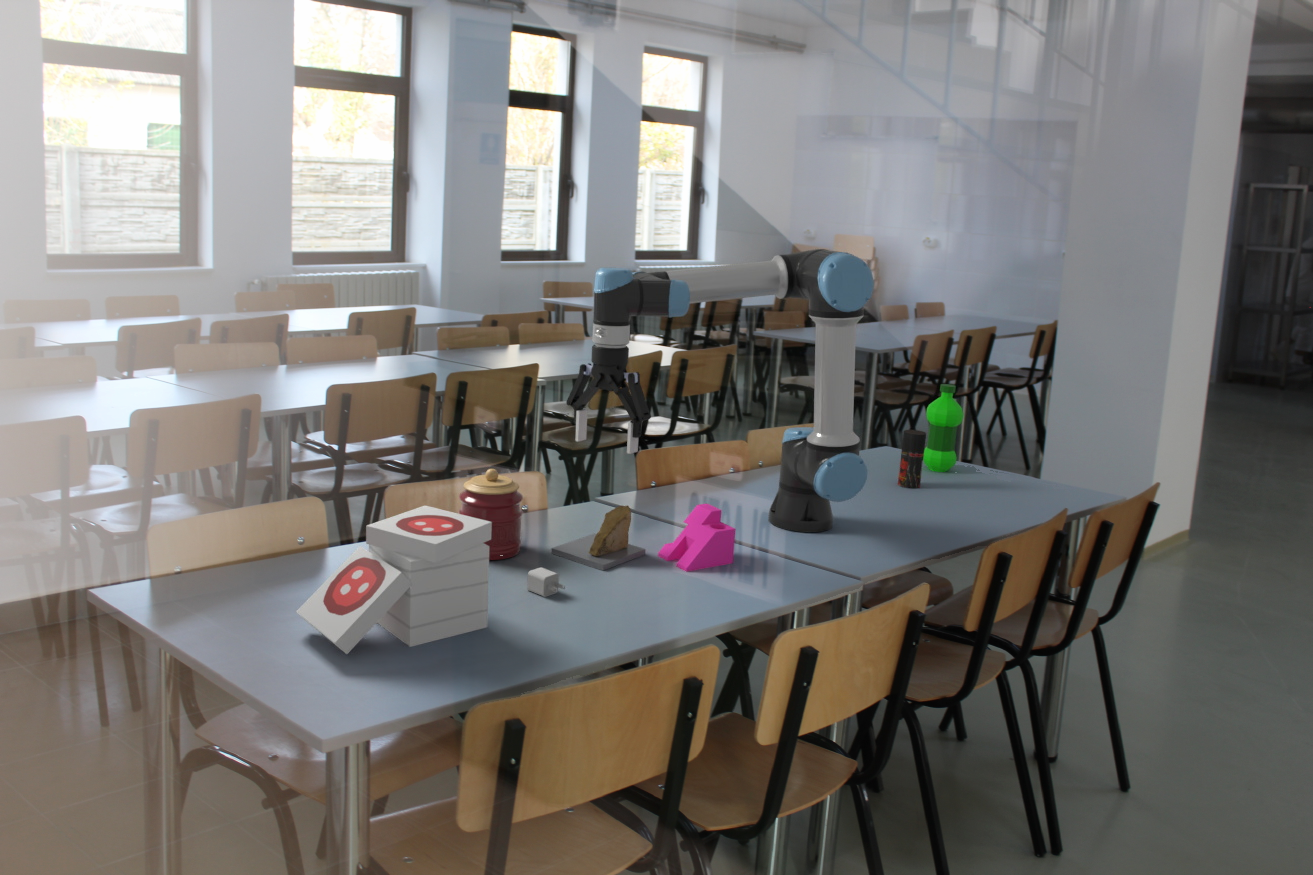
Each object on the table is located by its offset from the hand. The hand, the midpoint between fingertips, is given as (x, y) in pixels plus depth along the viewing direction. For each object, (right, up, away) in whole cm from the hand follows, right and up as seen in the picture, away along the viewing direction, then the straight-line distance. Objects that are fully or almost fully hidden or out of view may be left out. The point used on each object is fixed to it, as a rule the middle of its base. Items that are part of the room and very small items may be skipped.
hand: (606, 446), depth 226 cm
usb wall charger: (-10, -28, -20) cm, 36 cm away
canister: (-24, -22, +1) cm, 33 cm away
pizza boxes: (-33, -31, -40) cm, 61 cm away
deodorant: (+80, -11, +72) cm, 108 cm away
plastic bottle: (+93, -8, +92) cm, 130 cm away
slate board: (-2, -23, +3) cm, 23 cm away
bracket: (+19, -24, +3) cm, 31 cm away
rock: (0, -22, +2) cm, 22 cm away
